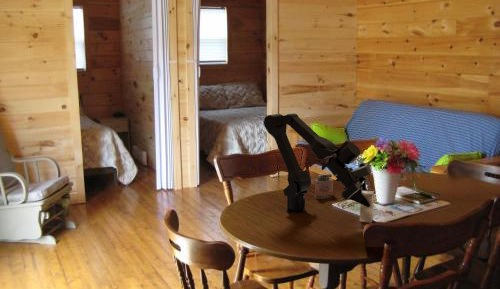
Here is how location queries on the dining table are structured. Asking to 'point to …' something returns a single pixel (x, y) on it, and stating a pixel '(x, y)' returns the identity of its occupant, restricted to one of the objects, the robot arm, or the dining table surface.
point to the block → (367, 212)
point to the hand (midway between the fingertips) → (370, 204)
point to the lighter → (323, 186)
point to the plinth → (377, 212)
